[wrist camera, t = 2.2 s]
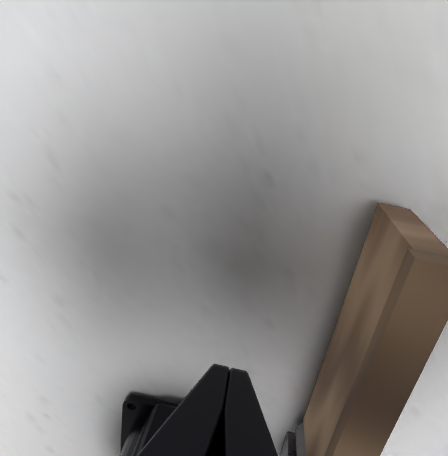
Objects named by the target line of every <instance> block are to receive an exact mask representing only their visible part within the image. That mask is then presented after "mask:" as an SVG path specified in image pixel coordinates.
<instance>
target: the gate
mask: <svg viewBox="0 0 448 456" xmlns="http://www.w3.org/2000/svg"><path fill="white" fill-rule="evenodd" d="M447 320H448V248H447V247H446V246H445V245H444V244H443V243H442V242H441V241H440V240H439V239H438V238H437V237H436V236H435V234H434V233H433V232H432V231H431V230H430V229H429V228H428V227H427V226H426V225H425V224H424V223H423V222H422V221H421V220H420V219H419V218H418V217H417V216H416V215H415V214H414V213H413V212H412V211H411V210H410V209H407V208H402V207H396V206H391V205H386V204H380V203H378V205H377V208H376V211H375V213H374V216H373V219H372V222H371V225H370V228H369V231H368V234H367V237H366V240H365V242H364V245H363V248H362V251H361V254H360V257H359V260H358V263H357V266H356V269H355V271H354V274H353V277H352V280H351V283H350V286H349V289H348V292H347V295H346V297H345V300H344V303H343V306H342V309H341V312H340V315H339V318H338V321H337V324H336V326H335V329H334V332H333V335H332V338H331V341H330V344H329V347H328V350H327V352H326V355H325V358H324V361H323V364H322V367H321V370H320V373H319V376H318V379H317V381H316V384H315V387H314V390H313V393H312V396H311V399H310V402H309V405H308V408H307V410H306V413H305V416H304V419H303V420H304V422H303V423H301V424H299V425H298V426H297V428H296V451H297V456H380V454H381V452H382V450H383V448H384V446H385V444H386V442H387V440H388V438H389V436H390V434H391V432H392V430H393V428H394V426H395V424H396V422H397V420H398V418H399V416H400V414H401V412H402V410H403V408H404V406H405V404H406V402H407V400H408V398H409V396H410V394H411V392H412V390H413V388H414V386H415V384H416V382H417V380H418V378H419V376H420V374H421V372H422V370H423V368H424V366H425V364H426V362H427V360H428V358H429V356H430V354H431V352H432V350H433V348H434V346H435V344H436V342H437V340H438V338H439V336H440V334H441V332H442V330H443V328H444V326H445V324H446V322H447Z"/></svg>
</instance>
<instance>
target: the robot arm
mask: <svg viewBox="0 0 448 456" xmlns="http://www.w3.org/2000/svg"><path fill="white" fill-rule="evenodd" d="M120 456H278V455H277V452H276V449H275V446H274V444H273V441H272V438H271V435H270V433H269V430H268V427H267V424H266V422H265V419H264V416H263V413H262V410H261V408H260V405H259V402H258V399H257V397H256V394H255V391H254V388H253V386H252V383H251V380H250V377H249V375H248V373H247V372H246V371H245V370H240V369H236V368H231V369H229V367H227V366H222V365H218V364H213V365H212V366H211V367H210V368H209V369H208V371H207V372H206V373H205V374H204V375H203V377H202V378H201V379H200V380H199V381H198V383H197V384H196V385H195V386H194V387H193V389H192V390H191V391H190V392H189V393H188V395H187V396H186V397H185V398H184V399H183V401H182V402H181V403H180V404H179V405H177V404H173V403H168V402H164V401H160V400H156V399H151V398H147V397H143V396H139V395H134V394H130V395H128V396H126V398H125V400H124V403H123V411H122V431H121V452H120Z"/></svg>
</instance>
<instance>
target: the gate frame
mask: <svg viewBox="0 0 448 456" xmlns="http://www.w3.org/2000/svg"><path fill="white" fill-rule="evenodd" d="M280 456H297V451H296V434H295V433H291V432H287V435H286V438H285V441H284V444H283V447H282V450H281V453H280Z"/></svg>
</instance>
